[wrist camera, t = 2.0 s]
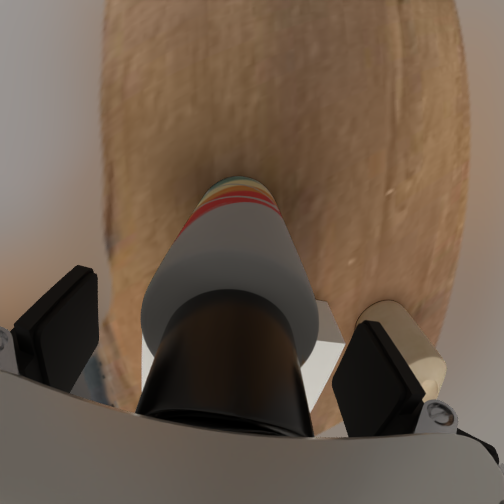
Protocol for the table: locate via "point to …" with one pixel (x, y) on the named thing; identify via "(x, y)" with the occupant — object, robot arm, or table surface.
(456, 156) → the table surface
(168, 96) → the table surface
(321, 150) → the table surface
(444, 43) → the table surface
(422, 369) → the candle
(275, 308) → the lotion bottle
